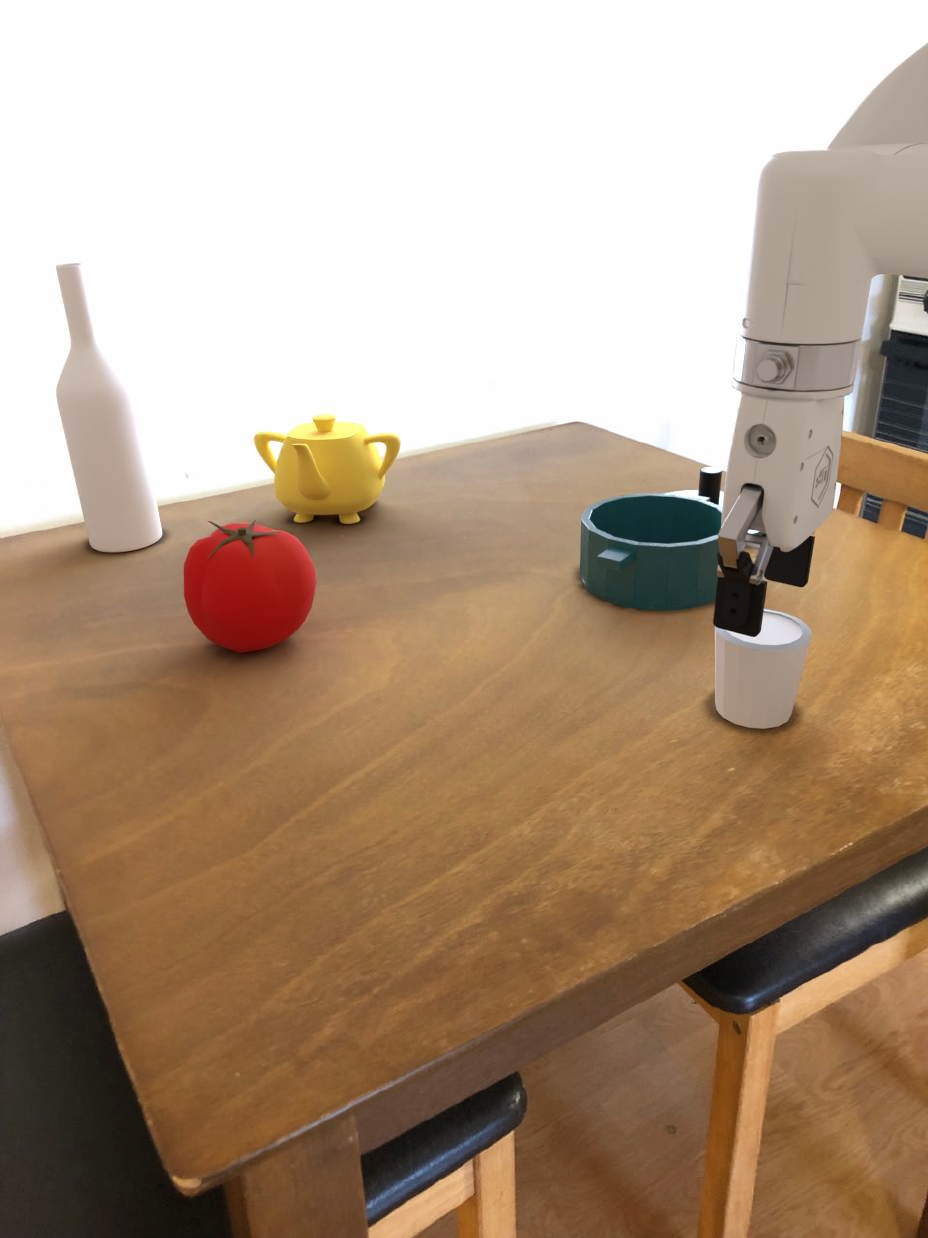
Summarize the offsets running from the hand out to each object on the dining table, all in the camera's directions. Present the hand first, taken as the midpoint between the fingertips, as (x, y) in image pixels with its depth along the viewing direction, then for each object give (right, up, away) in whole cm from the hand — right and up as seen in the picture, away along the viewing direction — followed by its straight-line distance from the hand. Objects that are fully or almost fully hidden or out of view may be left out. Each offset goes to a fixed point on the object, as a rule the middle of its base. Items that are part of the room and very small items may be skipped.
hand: (761, 605), depth 67 cm
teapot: (-38, +11, +45) cm, 60 cm away
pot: (-2, +3, +26) cm, 26 cm away
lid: (+6, +11, +40) cm, 42 cm away
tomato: (-40, -3, +17) cm, 44 cm away
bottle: (-61, +8, +41) cm, 73 cm away
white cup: (+1, -8, +4) cm, 9 cm away
